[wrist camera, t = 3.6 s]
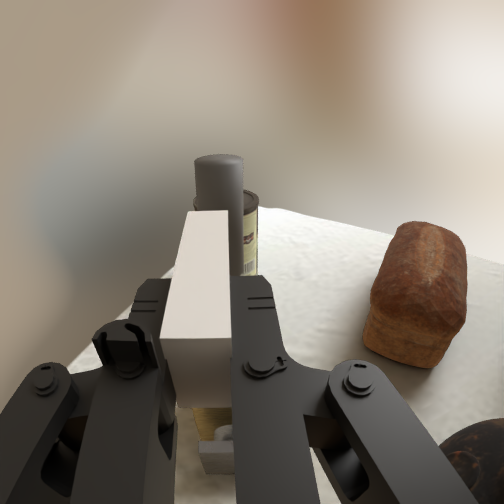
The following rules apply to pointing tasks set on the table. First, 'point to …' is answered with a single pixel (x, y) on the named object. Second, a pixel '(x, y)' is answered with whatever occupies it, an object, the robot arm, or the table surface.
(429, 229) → the bread
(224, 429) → the valve pipe
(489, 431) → the dark onion bottle
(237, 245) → the lever
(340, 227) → the table surface
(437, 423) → the table surface
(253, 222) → the coffee can
